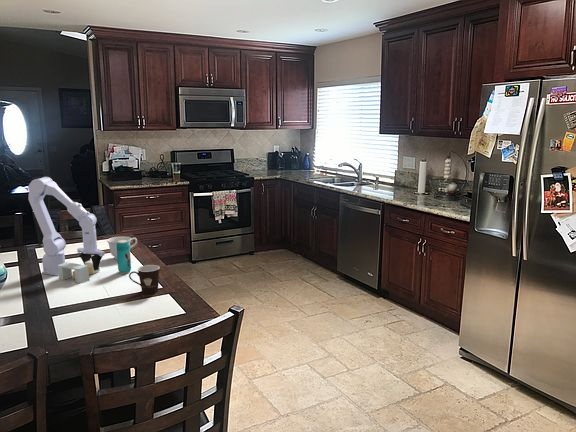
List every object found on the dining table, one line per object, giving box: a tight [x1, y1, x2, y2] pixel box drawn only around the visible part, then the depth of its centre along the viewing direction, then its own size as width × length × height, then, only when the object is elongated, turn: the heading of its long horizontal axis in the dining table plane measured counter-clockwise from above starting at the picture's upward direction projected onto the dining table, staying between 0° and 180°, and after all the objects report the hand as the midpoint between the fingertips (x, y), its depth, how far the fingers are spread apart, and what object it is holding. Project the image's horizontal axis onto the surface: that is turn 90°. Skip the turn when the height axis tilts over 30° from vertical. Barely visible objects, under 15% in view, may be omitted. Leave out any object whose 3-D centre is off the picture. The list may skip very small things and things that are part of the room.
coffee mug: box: [128, 264, 160, 295], centre depth 195 cm, size 12×9×10 cm
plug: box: [72, 259, 101, 279], centre depth 214 cm, size 4×12×5 cm, turn 157°
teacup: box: [106, 235, 138, 261], centre depth 240 cm, size 12×15×10 cm
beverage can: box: [116, 240, 132, 275], centre depth 217 cm, size 6×6×15 cm
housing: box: [58, 261, 90, 284], centre depth 208 cm, size 12×5×6 cm, turn 67°
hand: (92, 269), depth 218 cm, fingers closed on plug, 4 cm apart
